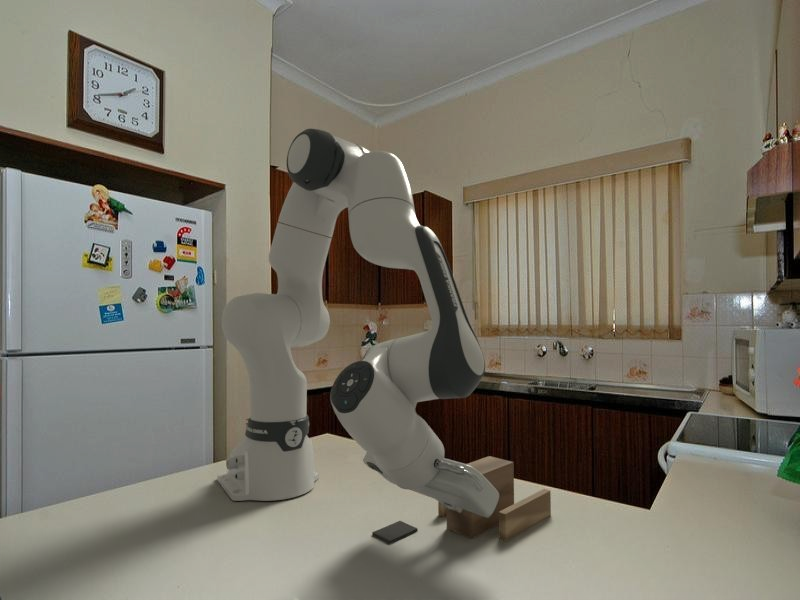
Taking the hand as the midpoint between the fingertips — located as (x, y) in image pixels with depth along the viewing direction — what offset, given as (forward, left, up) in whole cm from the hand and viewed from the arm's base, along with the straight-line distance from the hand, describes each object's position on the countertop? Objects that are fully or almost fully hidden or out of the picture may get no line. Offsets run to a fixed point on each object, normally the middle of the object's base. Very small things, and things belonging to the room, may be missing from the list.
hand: (455, 506), depth 71 cm
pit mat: (-7, -6, -4) cm, 10 cm away
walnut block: (0, +7, -4) cm, 8 cm away
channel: (0, +11, -4) cm, 11 cm away
